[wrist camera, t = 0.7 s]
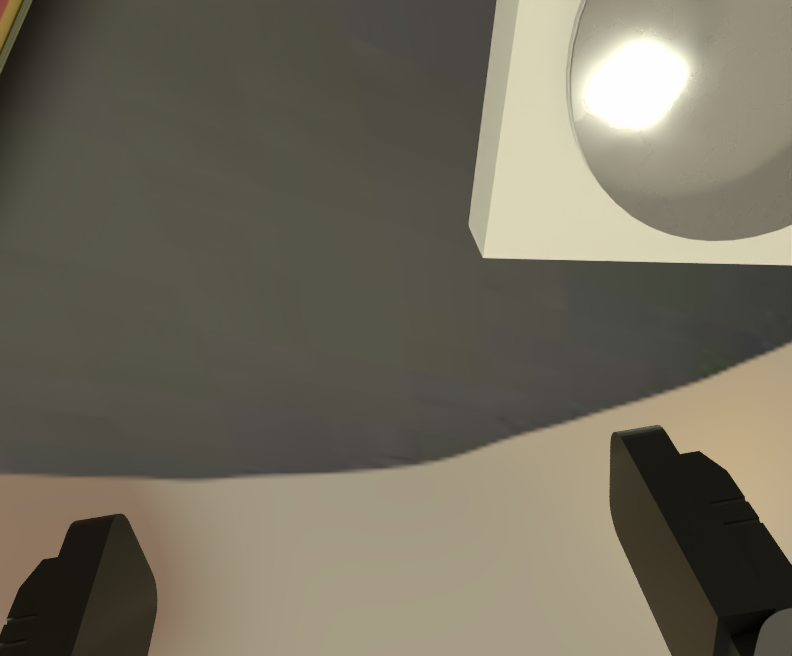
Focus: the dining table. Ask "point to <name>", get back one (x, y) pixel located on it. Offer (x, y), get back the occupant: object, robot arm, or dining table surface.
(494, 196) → the scale base
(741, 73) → the scale pan
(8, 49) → the hardcover book
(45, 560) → the robot arm
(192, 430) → the dining table surface
